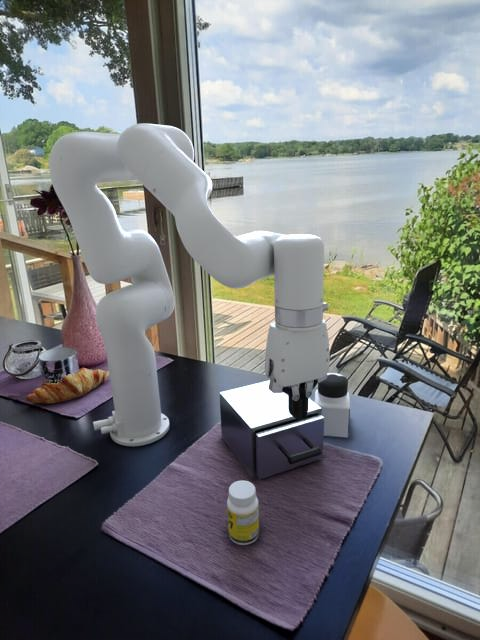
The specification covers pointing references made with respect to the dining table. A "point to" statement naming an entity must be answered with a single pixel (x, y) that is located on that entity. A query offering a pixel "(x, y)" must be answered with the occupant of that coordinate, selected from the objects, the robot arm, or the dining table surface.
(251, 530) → the supplement bottle
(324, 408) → the medicine bottle
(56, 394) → the croissant
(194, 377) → the dining table surface
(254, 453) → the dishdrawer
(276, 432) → the drawer
